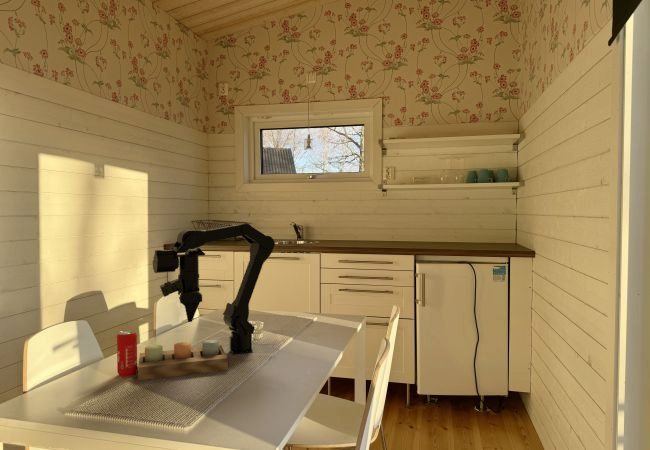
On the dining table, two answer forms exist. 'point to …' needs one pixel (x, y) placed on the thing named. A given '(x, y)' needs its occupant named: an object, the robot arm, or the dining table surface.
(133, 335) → the beverage can
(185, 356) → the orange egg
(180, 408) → the dining table surface
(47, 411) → the dining table surface
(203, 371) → the wooden compartment tray
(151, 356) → the button sage
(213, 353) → the sage green rounded cylinder
